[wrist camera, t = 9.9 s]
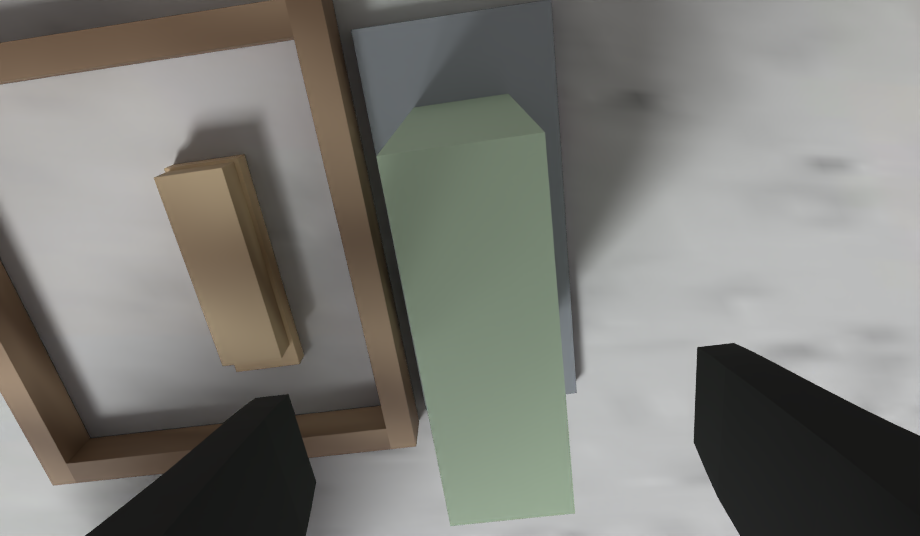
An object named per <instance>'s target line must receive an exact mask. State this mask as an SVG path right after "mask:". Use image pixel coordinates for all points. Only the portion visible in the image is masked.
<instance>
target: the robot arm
mask: <svg viewBox="0 0 920 536" xmlns="http://www.w3.org/2000/svg"><path fill="white" fill-rule="evenodd" d="M694 444H695V446H696V449H697V451H698V453H699V456H700V458H701V461H702V463H703V465H704V468H705V470H706V472H707V475H708V477H709V479H710V481H711V483H712V486H713V488H714V490H715V492H716V494H717V497H718V498H719V500H720V502H721V504H722V505H723V507H724V509H725V511H726V512H727V514H728V516H729V517H730V519H731V521H732V523H733V524H734V526H735V528H736V529H737V531H738V533H739V534H740V536H920V436H919V435H917V434H915V433H912V432H910V431H908V430H906V429H904V428H902V427H899V426H897V425H895V424H893V423H891V422H889V421H887V420H885V419H883V418H881V417H879V416H877V415H875V414H872V413H870V412H868V411H866V410H864V409H862V408H860V407H858V406H856V405H854V404H852V403H850V402H848V401H846V400H844V399H843V398H841V397H839V396H837V395H835V394H833V393H831V392H829V391H827V390H825V389H823V388H821V387H819V386H817V385H815V384H814V383H812V382H810V381H808V380H806V379H804V378H802V377H800V376H798V375H796V374H795V373H793V372H791V371H789V370H787V369H785V368H783V367H781V366H779V365H777V364H776V363H774V362H772V361H770V360H768V359H766V358H764V357H762V356H760V355H758V354H756V353H754V352H752V351H750V350H748V349H746V348H744V347H741V346H739V345H737V344H735V343H730V344H722V345H713V346H704V347H697V370H696V396H695V422H694ZM315 485H316V480H315V477H314V474H313V471H312V468H311V464H310V461H309V458H308V455H307V452H306V448H305V445H304V442H303V439H302V436H301V433H300V429H299V426H298V423H297V420H296V417H295V413H294V410H293V407H292V404H291V401H290V397H289V394H286V395H278V396H269V397H260V398H255V399H254V400H252V401H251V402H249V403H248V404H247V405H245V406H244V407H243V408H241V409H240V410H239V411H238V412H236V413H235V414H234V415H233V416H232V417H230V418H229V419H228V420H227V421H226V422H224V423H223V424H222V425H221V426H220V427H218V428H217V429H216V430H215V431H214V432H212V433H211V434H210V435H209V436H208V437H207V438H205V439H204V440H203V441H202V442H201V443H200V444H198V445H197V446H196V447H195V448H194V449H192V450H191V451H190V452H189V453H188V454H186V455H185V456H184V457H183V458H182V459H181V460H179V461H178V462H177V463H176V464H175V465H173V466H172V467H171V468H170V469H169V470H167V471H166V472H165V473H164V474H163V475H162V476H160V477H159V478H158V479H157V480H156V481H154V482H153V483H152V484H151V485H149V486H148V487H147V488H145V489H144V490H143V491H142V492H140V493H139V494H138V495H137V496H135V497H134V498H133V499H132V500H130V501H129V502H128V503H126V504H125V505H124V506H123V507H121V508H120V509H119V510H118V511H116V512H115V513H114V514H113V515H111V516H110V517H109V518H107V519H106V520H105V521H104V522H102V523H101V524H100V525H99V526H97V527H96V528H95V529H93V530H92V531H91V532H89V533H88V534H87V535H85V536H306V531H307V527H308V522H309V517H310V512H311V507H312V501H313V496H314V490H315Z"/></svg>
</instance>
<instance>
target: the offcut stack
mask: <svg viewBox="0 0 920 536" xmlns="http://www.w3.org/2000/svg"><path fill="white" fill-rule="evenodd" d="M164 170H165V172H166V173H164V174H161V175H159V176H157V177H154V180H155V183H156V185H157V188H158V191H159V194H160V196H161V199H162V202H163V204H164V207H165V210H166V213H167V215H168V218H169V221H170V224H171V226H172V229H173V232H174V234H175V237H176V240H177V243H178V245H179V248H180V251H181V253H182V256H183V259H184V262H185V264H186V267H187V270H188V273H189V275H190V278H191V281H192V283H193V286H194V289H195V292H196V294H197V297H198V300H199V303H200V305H201V308H202V311H203V313H204V316H205V319H206V322H207V324H208V327H209V330H210V333H211V335H212V338H213V341H214V343H215V346H216V349H217V352H218V354H219V357H220V360H221V363H222V365H223V366H228V365H234V366H235V369H236V371H237V372H241V371H249V370H256V369H264V368H272V367H280V366H288V365H296V364H300V362H301V360H302V358H303V356H304V354H303V350H302V347H301V344H300V340H299V337H298V333H297V330H296V327H295V323H294V320H293V317H292V313H291V310H290V306H289V303H288V300H287V296H286V293H285V290H284V286H283V283H282V279H281V276H280V273H279V269H278V266H277V263H276V259H275V256H274V252H273V249H272V246H271V242H270V239H269V236H268V232H267V229H266V225H265V222H264V219H263V215H262V212H261V209H260V205H259V202H258V198H257V195H256V192H255V188H254V185H253V182H252V178H251V175H250V171H249V168H248V165H247V161H246V158H245V155H244V154H243V155H236V156H229V157H222V158H215V159H209V160H202V161H195V162H188V163H181V164H174V165H171V166H169V167H167V168H164Z"/></svg>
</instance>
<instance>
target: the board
mask: <svg viewBox="0 0 920 536" xmlns="http://www.w3.org/2000/svg"><path fill="white" fill-rule="evenodd" d="M376 157H377V162H378V167H379V172H380V177H381V182H382V187H383V192H384V197H385V202H386V207H387V212H388V217H389V222H390V227H391V232H392V237H393V242H394V247H395V252H396V257H397V262H398V267H399V272H400V277H401V282H402V287H403V292H404V297H405V302H406V307H407V312H408V317H409V322H410V327H411V332H412V337H413V342H414V347H415V351H416V356H417V361H418V366H419V371H420V376H421V381H422V386H423V391H424V396H425V401H426V406H427V411H428V416H429V421H430V426H431V431H432V436H433V441H434V446H435V451H436V456H437V461H438V466H439V471H440V476H441V481H442V486H443V491H444V496H445V501H446V506H447V511H448V516H449V521H450V526H456V525H465V524H475V523H485V522H495V521H505V520H515V519H524V518H534V517H544V516H554V515H564V514H574V513H575V508H574V496H573V483H572V470H571V457H570V445H569V432H568V419H567V406H566V394H565V381H564V368H563V356H562V343H561V330H560V317H559V305H558V292H557V279H556V266H555V254H554V241H553V228H552V215H551V203H550V190H549V177H548V164H547V152H546V139H545V132H544V131H543V130H542V129H541V128H540V127H539V125H538V124H537V123H536V122H535V121H534V120H533V119H532V118H531V117H530V116H529V115H528V114H527V113H526V112H525V111H524V110H523V109H522V108H521V107H520V105H519V104H518V103H517V102H516V101H515V100H514V99H513V98H512V97H511V96H510V95H509V94H502V95H496V96H489V97H482V98H475V99H468V100H462V101H455V102H448V103H441V104H434V105H428V106H421V107H414V108H413V109H412V110H411V112H410V113H409V114H408V116H407V117H406V118H405V120H404V121H403V122H402V123H401V125H400V126H399V127H398V129H397V130H396V131H395V133H394V134H393V135H392V136H391V138H390V139H389V140H388V142H387V143H386V144H385V146H384V147H383V148H382V150H381V151H380V152H379V153H378V155H377V156H376Z"/></svg>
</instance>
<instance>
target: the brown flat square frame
mask: <svg viewBox="0 0 920 536" xmlns="http://www.w3.org/2000/svg"><path fill="white" fill-rule="evenodd" d="M288 40H294V41H295V45H296V49H297V53H298V58H299V62H300V66H301V70H302V74H303V79H304V83H305V87H306V91H307V96H308V100H309V104H310V108H311V112H312V117H313V121H314V125H315V129H316V134H317V138H318V142H319V146H320V151H321V155H322V159H323V163H324V167H325V172H326V176H327V180H328V184H329V189H330V193H331V197H332V201H333V206H334V210H335V214H336V218H337V222H338V227H339V231H340V235H341V239H342V244H343V248H344V252H345V256H346V260H347V265H348V269H349V273H350V277H351V282H352V286H353V290H354V294H355V299H356V303H357V307H358V311H359V315H360V320H361V324H362V328H363V332H364V337H365V341H366V345H367V349H368V353H369V358H370V362H371V366H372V370H373V375H374V379H375V383H376V387H377V392H378V396H379V400H380V404H381V406H373V407H365V408H356V409H347V410H338V411H329V412H320V413H311V414H302V415H295V417H296V420H297V423H298V426H299V429H300V433H301V436H302V439H303V442H304V445H305V448H306V452H307V455H308V458H313V457H322V456H331V455H340V454H350V453H359V452H368V451H378V450H387V449H396V448H405V447H415V446H416V444H417V435H418V426H419V419H418V414H417V409H416V404H415V399H414V395H413V390H412V385H411V380H410V375H409V370H408V365H407V361H406V356H405V351H404V346H403V341H402V336H401V331H400V327H399V322H398V317H397V312H396V307H395V302H394V297H393V293H392V288H391V283H390V278H389V273H388V268H387V263H386V259H385V254H384V249H383V244H382V239H381V234H380V230H379V225H378V220H377V215H376V210H375V205H374V200H373V196H372V191H371V186H370V181H369V176H368V171H367V166H366V162H365V157H364V152H363V147H362V142H361V137H360V132H359V128H358V123H357V118H356V113H355V108H354V103H353V98H352V94H351V89H350V84H349V79H348V74H347V69H346V64H345V60H344V55H343V50H342V45H341V40H340V35H339V30H338V26H337V21H336V16H335V11H334V6H333V1H332V0H270V1H263V2H257V3H251V4H244V5H238V6H231V7H225V8H219V9H212V10H206V11H200V12H193V13H187V14H181V15H174V16H168V17H161V18H155V19H149V20H142V21H136V22H130V23H123V24H117V25H111V26H104V27H98V28H91V29H85V30H79V31H72V32H66V33H60V34H53V35H47V36H41V37H34V38H28V39H21V40H15V41H9V42H2V43H0V84H7V83H13V82H20V81H26V80H33V79H39V78H46V77H52V76H59V75H65V74H72V73H79V72H85V71H92V70H98V69H105V68H111V67H118V66H124V65H131V64H138V63H144V62H151V61H157V60H164V59H170V58H177V57H183V56H190V55H197V54H203V53H210V52H216V51H223V50H229V49H236V48H242V47H249V46H256V45H262V44H269V43H275V42H282V41H288ZM0 392H1V394H2V396H3V397H4V399H5V401H6V403H7V404H8V406H9V408H10V410H11V412H12V413H13V415H14V417H15V419H16V420H17V422H18V424H19V426H20V428H21V429H22V431H23V433H24V435H25V436H26V438H27V440H28V442H29V444H30V445H31V447H32V449H33V451H34V452H35V454H36V456H37V458H38V460H39V461H40V463H41V465H42V467H43V468H44V470H45V472H46V474H47V476H48V477H49V479H50V481H51V483H52V484H53V485H62V484H71V483H81V482H90V481H99V480H109V479H118V478H127V477H136V476H146V475H155V474H164V473H165V472H166V471H167V470H169V469H170V468H171V467H172V466H173V465H175V464H176V463H177V462H178V461H179V460H181V459H182V458H183V457H184V456H185V455H186V454H188V453H189V452H190V451H191V450H192V449H194V448H195V447H196V446H197V445H198V444H200V443H201V442H202V441H203V440H204V439H205V438H207V437H208V436H209V435H210V434H211V433H212V432H214V431H215V430H216V429H217V428H218V427H220V426H221V425H222V424H223V423H222V424H213V425H205V426H196V427H187V428H178V429H169V430H160V431H151V432H142V433H133V434H125V435H116V436H107V437H98V438H90V437H89V435H88V433H87V431H86V429H85V427H84V425H83V423H82V421H81V419H80V417H79V415H78V413H77V411H76V409H75V407H74V405H73V403H72V401H71V399H70V397H69V395H68V393H67V391H66V389H65V387H64V385H63V383H62V381H61V379H60V378H59V376H58V374H57V372H56V370H55V368H54V366H53V364H52V362H51V360H50V358H49V356H48V354H47V352H46V350H45V348H44V346H43V344H42V342H41V340H40V338H39V336H38V334H37V332H36V330H35V328H34V326H33V324H32V322H31V320H30V318H29V316H28V314H27V312H26V310H25V308H24V306H23V304H22V302H21V300H20V298H19V296H18V294H17V292H16V290H15V288H14V286H13V284H12V282H11V280H10V278H9V277H8V275H7V273H6V271H5V269H4V267H3V265H2V263H1V261H0Z"/></svg>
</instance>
